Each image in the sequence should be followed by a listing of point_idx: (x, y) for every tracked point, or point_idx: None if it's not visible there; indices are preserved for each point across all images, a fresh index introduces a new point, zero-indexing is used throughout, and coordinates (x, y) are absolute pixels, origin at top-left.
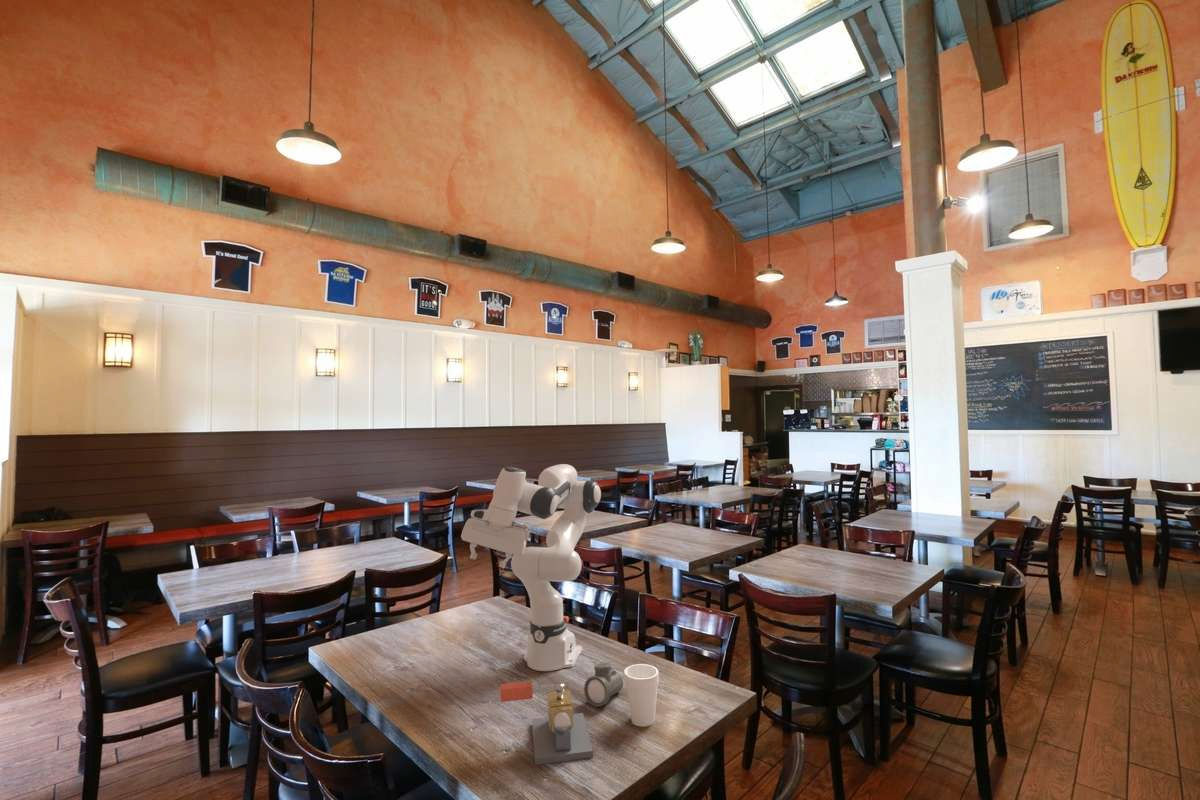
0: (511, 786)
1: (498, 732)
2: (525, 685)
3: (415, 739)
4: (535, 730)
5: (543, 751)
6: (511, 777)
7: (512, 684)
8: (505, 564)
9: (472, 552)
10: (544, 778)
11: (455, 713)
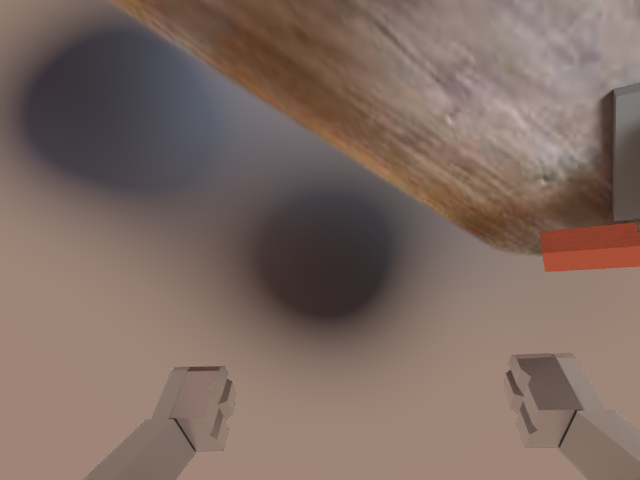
0: None
1: (518, 126)
2: (618, 262)
3: (350, 155)
4: (622, 143)
5: (636, 205)
6: None
7: (577, 255)
8: (589, 384)
9: (184, 459)
10: None
11: (383, 61)
